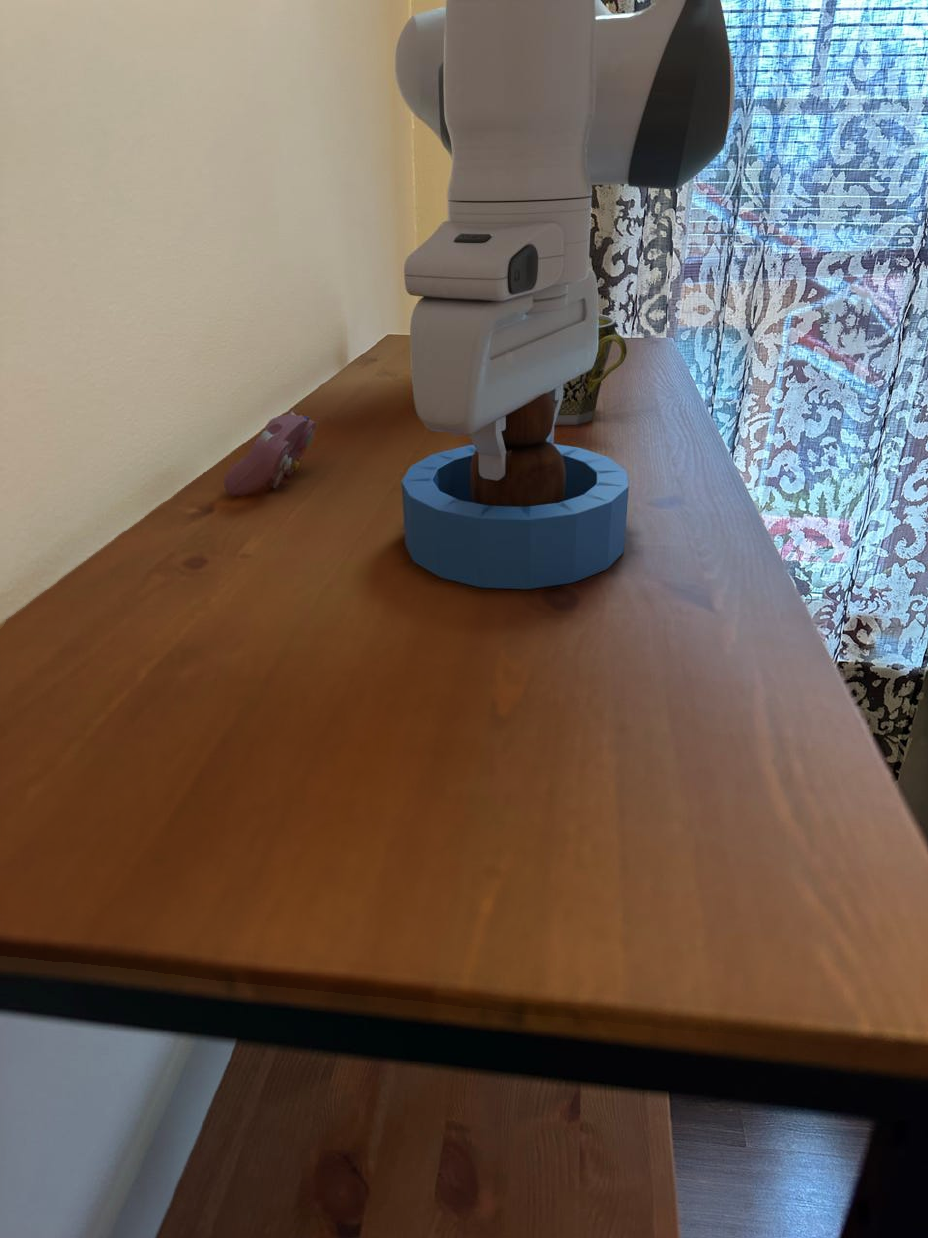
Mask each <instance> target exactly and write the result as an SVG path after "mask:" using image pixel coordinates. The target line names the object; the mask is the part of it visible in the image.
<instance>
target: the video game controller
mask: <svg viewBox="0 0 928 1238" xmlns="http://www.w3.org/2000/svg"><path fill="white" fill-rule="evenodd" d="M316 429H317V423H316V422H315V421H314V420H312V419H310V417H308V416H306V415H302V414H299V415H297V414H295V412H294V411H291V412H290V413H288V414H281V415H278V416H276V417H273V418H271V419H270V420H269V421H268V422H267V424H266V426H265V428H264V430H263V432H262V433H261V434H260V435H259V436H258V437H257V438H256V440H255V441H254V442H253V444H252V445H251V447H250V449H249V451H248V452H246V454H245V455H244V456H243V457H242V458H241V459H240V460H239V461H238V462H237V463H235V465H233V466H231V468H230V469H229V470H228V471H227V472H226V474H225V476H224V479H223V487H224V488H223V489H224V490H225V491H226V494H228V495H229V496H232V497H243V496H247V495H250V494H252V493H254V492H256V491H257V490H258V489H259V488H261V487H262V486H264V484H266V485H267V486H269V487H271V488H273V489H276V488H277V487H278V486H279V485H280V483H281V482H282V480H283V478H284V475H286V476H291V475H292V474H293V473H294V471H297V470H298V469H299V466H300V460H301V458H302V456H303V455H304V453H305V451H306V450H307V449H308V447H309V446H310V444H311V441H312V440H313V438H314V435H315V432H316Z"/></svg>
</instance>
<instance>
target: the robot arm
mask: <svg viewBox="0 0 928 1238" xmlns="http://www.w3.org/2000/svg"><path fill="white" fill-rule="evenodd" d="M445 1H446V2H445V6H441V7H436V8H432V9H428V10H426V11H422V12H419V13H415V14H412V15H411V16H410V18H409V19H408V20H407V22H406V23H405V25H404V27H403V28H402V31H401V32H400V35H399V37H398V40H397V44H396V48H395V53H394V75H395V80H396V81H395V82H396V84H397V88H398V91H399V94H400V96H401V98H402V100H403V102H404V103H405V105H406V107H407V108H408V110H409V111H410V112H411V113H412V114H413V115H414V116H415V118H417V119H418V120H420V121H421V122H422V123H424V124H425V126H427V127H428V128H429V129H430V130H431V131H432V132H433V134H434V135H435V136H436V137H437V138H438V140H439V141H440V142H441V143H442V146H443V147H444V149H445V150H446V151H447V153H448V155H449V157H450V159H451V169H450V170H451V171H450V177H449V180H448V185H447V191H446V200H447V202H446V203H447V220H444V221H442V223H441V224H440V225H439V226H438V227H437V229H436V230H435V231H434V232H433V233H432V234H431V236H429V237H428V238H427V239H426V240H425V241H424V242H423V243H422V244H421V245H419V246H418V247H417V248H416V249H415V250H414V251H412V252H411V253H410V254H409V255H408V256H407V258H406V259H405V262H404V265H403V267H404V268H403V276H404V286H405V290H406V292H407V294H408V295H409V296H412V297H413V296H414V297H421V298H420V299H419V300H418V301H417V302H416V304H415V305H414V308H413V310H412V313H411V317H410V324H409V347H410V348H409V349H410V367H411V381H412V393H413V401H414V407H415V412H416V415H417V416H418V418H419V419H420V421H421V423H422V424H423V426H424V428H426V429H428V430H430V431H434V432H441V433H447V434H454V435H463V436H469V437H470V439H471V442H472V445H474V446H475V448H476V450H477V452H478V459H479V474H480V476H481V477H483V478H485V479H491V480H496V481H497V480H500V479H501V478H503V477H505V476H506V475H507V474H509V473H510V472H511V470H512V465H511V460H512V450H509V449H505V445H504V441H503V437H502V433H501V431H504V430H505V428H506V415H508V414H510V413H512V412H513V411H515V410H517V409H519V408H521V407H523V406H524V405H526V404H528V403H530V402H532V401H533V400H535V399H536V398H538V397H539V396H541V395H543V394H545V393H546V394H547V395H548V396H549V397H550V399H551V401H552V404H553V407H554V423H555V422H556V419H557V415H558V412H559V409H560V406H561V402H562V399H563V385H564V384H565V383H567V382H569V381H571V380H573V379H574V378H576V377H578V376H580V375H582V374H584V373H586V372H587V371H589V370H591V369H592V368H593V366H594V363H595V360H596V356H597V352H598V314H599V291H598V289H599V288H598V280H597V275H596V273H595V271H594V270H593V269H592V268H591V267H590V248H591V247H590V245H591V244H590V243H591V224H592V223H591V220H592V200H593V199H592V195H593V187H592V186H606V185H607V186H608V185H627V186H628V187H630V188H644V189H645V188H646V189H657V190H668V191H670V190H671V191H676V190H678V189H679V188H681V187H683V186H684V185H685V184H687V183H688V182H690V181H691V180H692V179H694V178H695V177H696V176H697V175H698V174H700V173H701V172H702V171H703V170H704V169H705V168H706V167H708V166H709V164H711V162H713V160H715V159H716V157H718V155H719V154H721V152H722V151H723V149H724V147H725V144H726V141H727V136H728V132H729V130H730V127H731V122H732V118H733V112H734V106H735V96H736V77H735V76H736V75H735V67H734V66H735V65H734V60H733V56H732V52H731V46H730V44H729V43H730V42H729V37H728V29H727V25H726V20H725V14H724V10H723V9H724V8H723V5H722V0H650V5H649V6H648V7H646V8H643V9H641V10H638V11H633V12H621V13H620V12H619V13H612V11H610V10H609V9H608V8H607V7H606V5H605V4H604V3H603V2H602V0H445ZM615 328H619V325H618V323H617V322H616V325H615ZM554 423H553V427H552V430H551V433H550V435H549V436H548V438H547V439H546V441H547V442H549V443H552V444H555V425H554Z"/></svg>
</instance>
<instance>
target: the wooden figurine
mask: <svg viewBox="0 0 928 1238" xmlns="http://www.w3.org/2000/svg"><path fill="white" fill-rule="evenodd" d="M553 423H554V407H553V404H552V401H551V399H550V397H549V396H548V395H547V394H546V393H545V394H543V395H541V396H539V397H538V398H536V399H535V400H533V401H532V402H530V403H528V404H526V405H524V406H523V407H521V408H519V409H517V410H515V411H513V412H512V413H510V414H508V415H506V428H505V430H504V431H501V433H502V437H503V441H504V445H505V449H509V450H512V460H511V465H512V470H511V472H510V473H509V474H507V475H506V476H505V477H503V478H501V479H500V480H497V481H496V480H491V479H485V478H483V477H481V476H480V474H479V459H478V452H477V450H476V451H475V453H474V454H473V457H472V462H471V467H470V469H471V494H472V502H473V503H477V504H482V505H487V506H511V507H529V506H537V505H546V504H554V503H560V502H563V499H564V491H565V478H566V468H565V464H564V460H563V457H562V455H561V453H560V452H559V451H558V449H557V448H556V447H555V446H554V445H553V444H554V443H553V444H552V443H549V442H547V441H546V439H547V438H548V436H549V435H550V433H551V430H552V427H553Z"/></svg>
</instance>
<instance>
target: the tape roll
mask: <svg viewBox="0 0 928 1238" xmlns="http://www.w3.org/2000/svg"><path fill="white" fill-rule="evenodd" d="M553 445H554V446H555V447H556V448H557V449H558V451H559V452H560V453H561V455H562V457H563V460H564V464H565V468H566V478H565V491H564V499H563V502H560V503H554V504H546V505H537V506H529V507H511V506H487V505H482V504H477V503H473V502H472V494H471V469H470V467H471V462H472V457H473V454H474V453H475V451H476V448H475V446H474V444H472V445H471V444H470V445H464V446H461V447H460V446H459V447H456V448H453V449H448V450H444V451H441V452H440V451H439V452H437V453H433V454H431V455H429V456H426V457H425V458H424V459H423V458H422V459H421V460H419V461H418V462H416V463H414V464H412V465H410V466H409V468H408V469H407V471H406V473H405V474H404V475H403V478H402V480H401V482H400V483H401V484H400V485H401V499H402V513H403V514H402V515H403V528H404V543H405V546H406V548H407V551H408V554H409V555H410V557H411V560H412V561H413V563H415V564H416V565H418V566H420V567H421V568H423V569H425V570H427V571H428V572H430V573H432V574H433V575H435V576H437V577H439V578H441V579H444V580H447V581H448V580H449V581H452V582H457V583H461V584H465V585H469V586H473V587H477V588H481V589H482V588H483V589H506V590H507V589H510V590H533V589H541V588H547V587H553V586H561V585H568V584H574V583H576V582H579V581H581V580H584V579H586V578H590V577H592V576H594V575H597V574H599V573H601V572H604V571H607V570H608V569H609V568H610V567H611V566H612V565H613V564H614V563H615V562H616V561H617V560H618V559H619V558H620V557H621V556H622V555H623V554H624V552H625V542H626V531H627V530H626V529H627V516H628V515H627V514H628V502H629V490H630V485H629V484H630V483H629V473H628V471H627V470H626V469H625V468H623V466H621V465H619V464H618V463H617V462H615V461H614V460H613V459H612V458H611V457H609V456H605V455H603V454H600V453H597V452H594V451H591V450H588V449H585V448H581V447H576V446H569V445H563V444H557V443H553Z"/></svg>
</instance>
